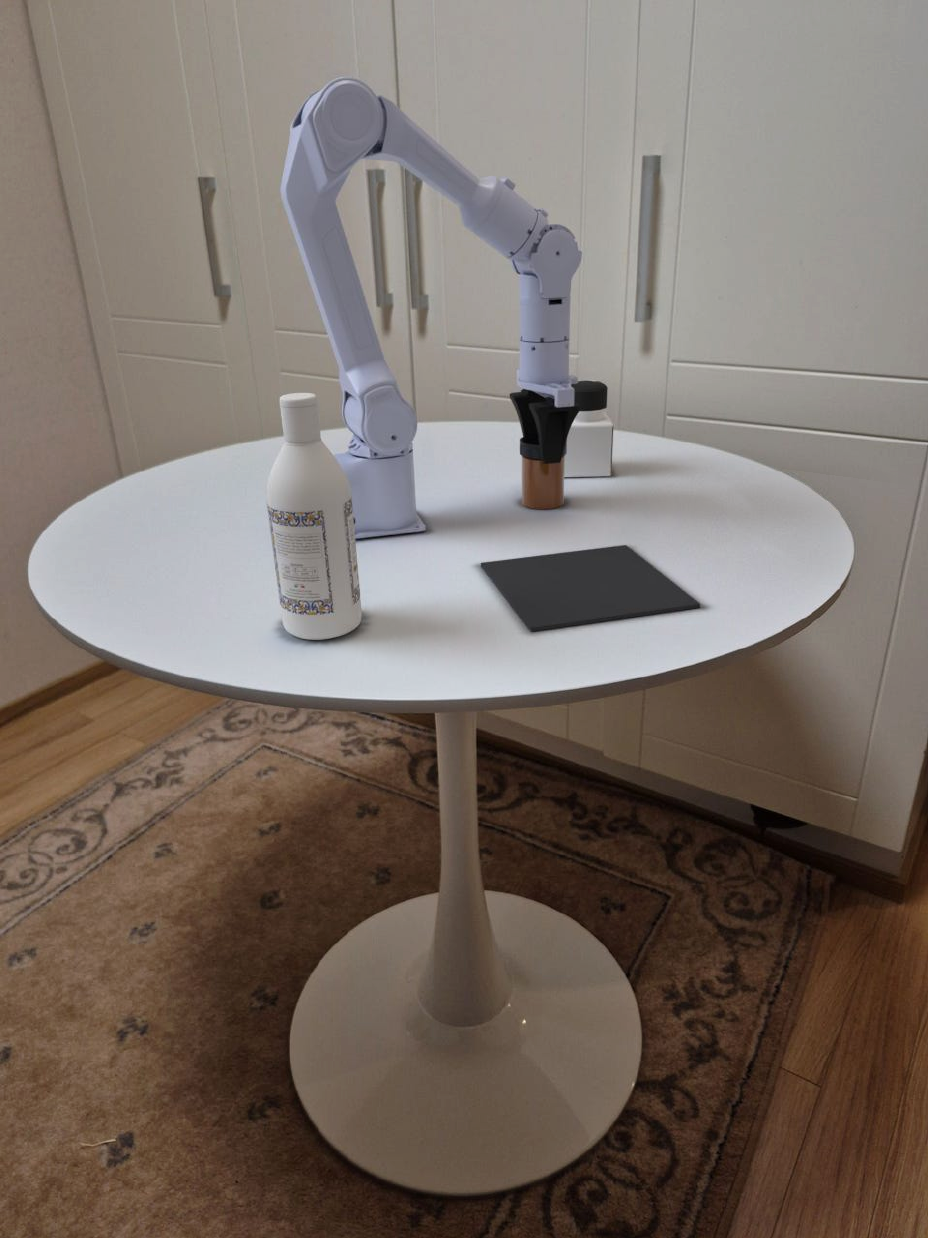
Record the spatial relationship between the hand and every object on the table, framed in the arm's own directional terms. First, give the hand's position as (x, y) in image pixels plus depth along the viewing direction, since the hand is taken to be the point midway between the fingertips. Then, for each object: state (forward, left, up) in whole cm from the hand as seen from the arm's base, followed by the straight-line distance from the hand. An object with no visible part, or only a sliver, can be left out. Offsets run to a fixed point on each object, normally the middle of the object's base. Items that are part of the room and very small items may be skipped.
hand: (543, 456), depth 104 cm
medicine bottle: (+10, +12, -6) cm, 17 cm away
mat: (-5, -26, -6) cm, 27 cm away
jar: (0, 0, -6) cm, 6 cm away
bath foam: (-30, -27, -6) cm, 41 cm away
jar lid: (0, 0, +2) cm, 2 cm away
